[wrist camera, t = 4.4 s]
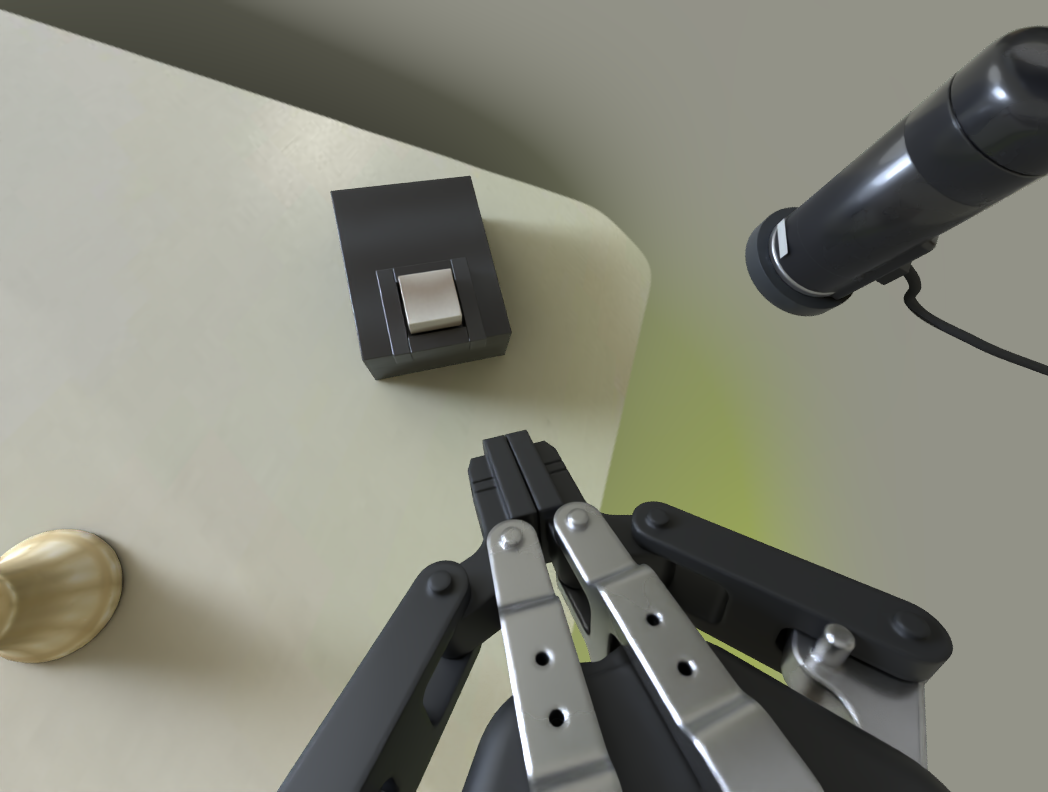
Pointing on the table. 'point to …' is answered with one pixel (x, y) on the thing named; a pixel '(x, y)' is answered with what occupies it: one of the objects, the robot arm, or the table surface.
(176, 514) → the table surface
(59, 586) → the hand bell
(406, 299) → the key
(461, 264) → the black square panel
